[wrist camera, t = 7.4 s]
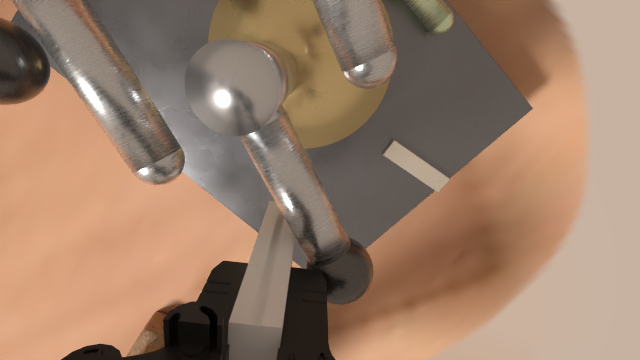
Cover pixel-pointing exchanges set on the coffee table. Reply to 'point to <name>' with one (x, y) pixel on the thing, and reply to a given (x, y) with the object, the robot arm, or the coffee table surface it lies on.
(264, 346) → the robot arm
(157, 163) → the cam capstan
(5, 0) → the coffee table surface
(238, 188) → the stand
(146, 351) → the candle holder
